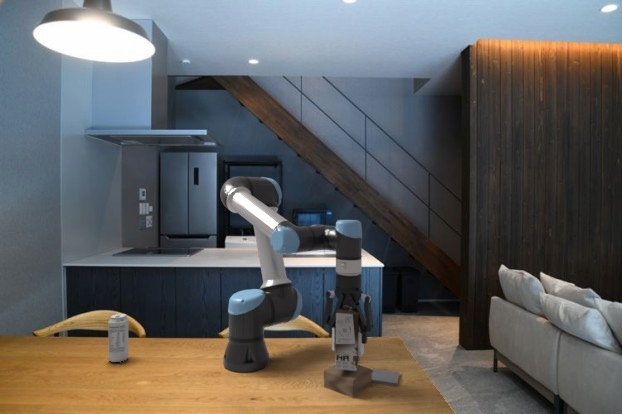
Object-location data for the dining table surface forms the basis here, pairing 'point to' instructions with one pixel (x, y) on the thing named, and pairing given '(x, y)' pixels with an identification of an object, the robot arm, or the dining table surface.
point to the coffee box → (347, 339)
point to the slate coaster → (385, 377)
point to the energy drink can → (118, 337)
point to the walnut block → (348, 380)
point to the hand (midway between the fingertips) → (347, 351)
